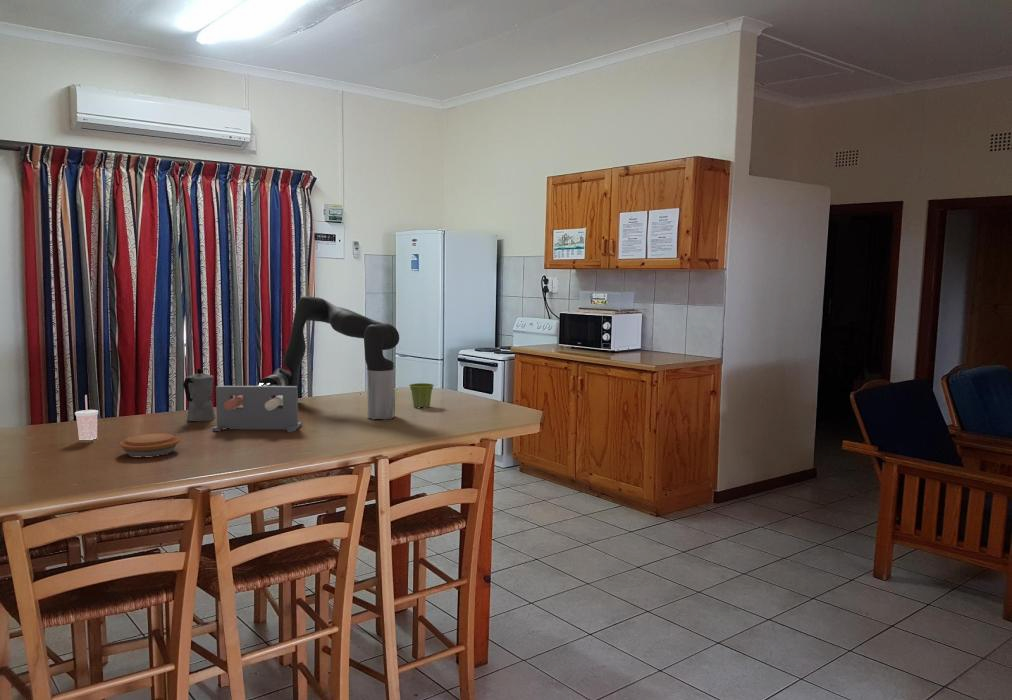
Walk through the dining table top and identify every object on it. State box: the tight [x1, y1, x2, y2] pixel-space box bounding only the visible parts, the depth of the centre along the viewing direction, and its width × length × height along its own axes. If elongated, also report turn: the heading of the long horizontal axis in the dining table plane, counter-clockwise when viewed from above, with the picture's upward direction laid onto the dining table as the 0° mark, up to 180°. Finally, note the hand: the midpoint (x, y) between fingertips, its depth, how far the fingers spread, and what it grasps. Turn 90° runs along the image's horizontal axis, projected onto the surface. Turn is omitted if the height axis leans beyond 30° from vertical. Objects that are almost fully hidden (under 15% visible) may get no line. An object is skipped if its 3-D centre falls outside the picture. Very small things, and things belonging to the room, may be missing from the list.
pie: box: [119, 432, 181, 457], centre depth 208 cm, size 15×16×5 cm
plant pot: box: [408, 382, 435, 408], centre depth 284 cm, size 9×9×9 cm
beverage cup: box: [74, 394, 99, 441], centre depth 223 cm, size 6×6×14 cm
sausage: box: [223, 395, 243, 410], centre depth 241 cm, size 5×15×5 cm, turn 0°
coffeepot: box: [182, 368, 216, 422], centre depth 255 cm, size 15×9×18 cm, turn 169°
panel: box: [211, 385, 303, 433], centre depth 242 cm, size 26×10×14 cm, turn 90°
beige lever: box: [265, 396, 283, 411], centre depth 241 cm, size 5×15×5 cm, turn 0°
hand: (256, 392), depth 260 cm, fingers closed
